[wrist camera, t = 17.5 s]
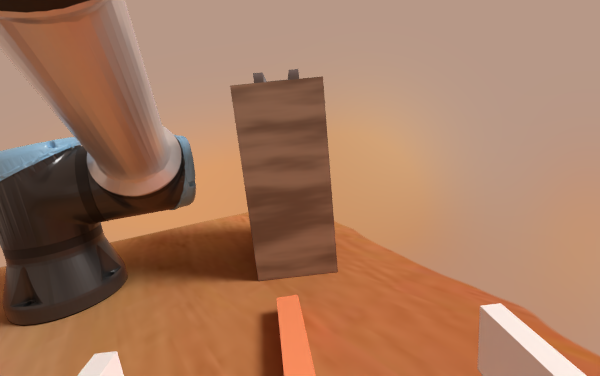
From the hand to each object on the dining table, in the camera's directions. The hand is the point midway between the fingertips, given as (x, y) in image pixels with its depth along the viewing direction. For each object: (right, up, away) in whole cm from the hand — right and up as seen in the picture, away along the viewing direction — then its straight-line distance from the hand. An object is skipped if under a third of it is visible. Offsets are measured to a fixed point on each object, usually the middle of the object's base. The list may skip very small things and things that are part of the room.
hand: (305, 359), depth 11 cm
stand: (-1, -5, +43) cm, 43 cm away
